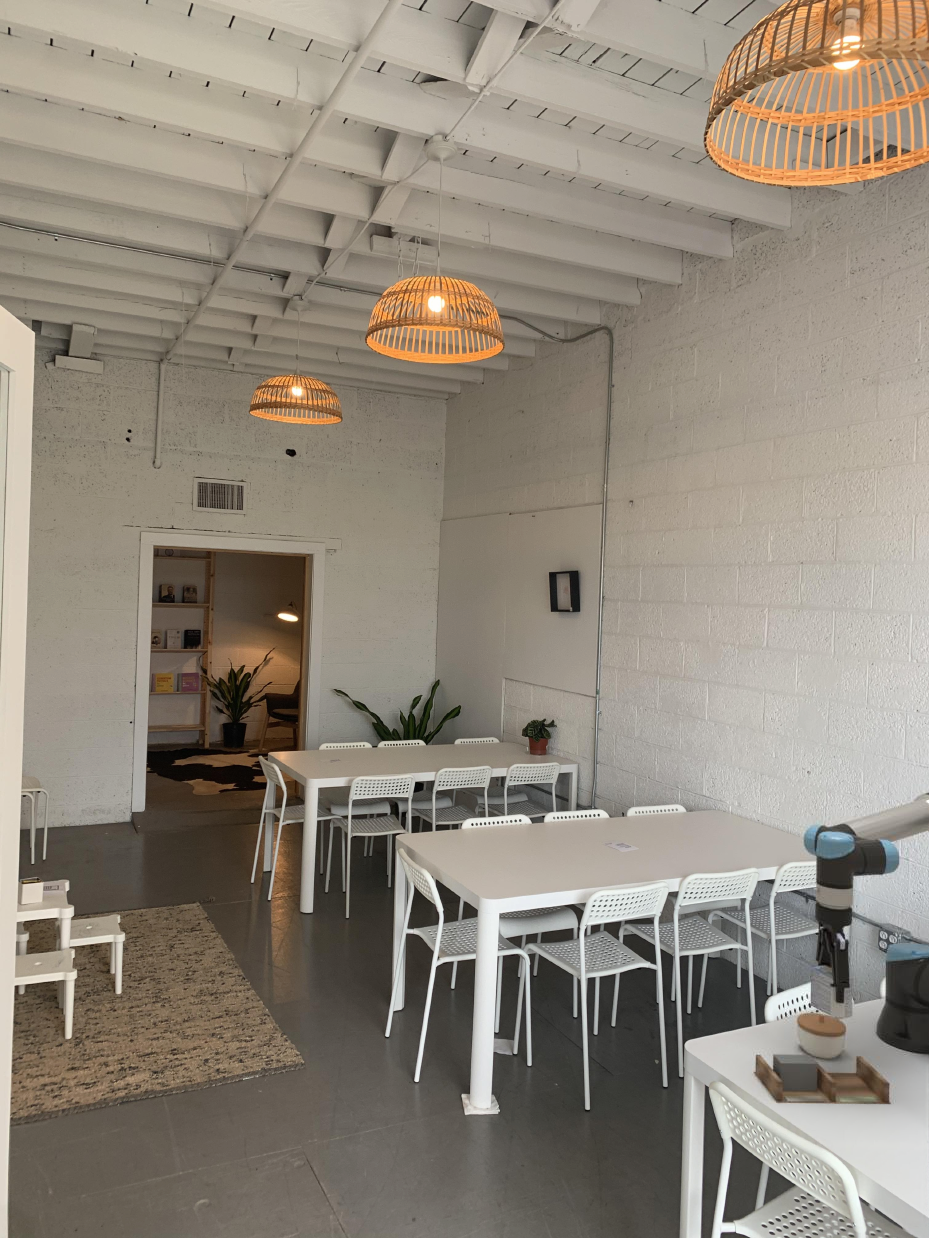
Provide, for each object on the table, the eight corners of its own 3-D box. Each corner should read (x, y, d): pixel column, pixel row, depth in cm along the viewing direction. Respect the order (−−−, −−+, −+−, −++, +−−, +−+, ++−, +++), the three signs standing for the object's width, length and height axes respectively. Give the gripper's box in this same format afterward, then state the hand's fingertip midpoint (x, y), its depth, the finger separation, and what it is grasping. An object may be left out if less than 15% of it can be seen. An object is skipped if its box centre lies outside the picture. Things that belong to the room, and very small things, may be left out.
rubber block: (808, 1082, 193) (809, 1054, 193) (816, 1091, 189) (817, 1063, 189) (772, 1081, 193) (773, 1054, 193) (779, 1091, 189) (780, 1063, 189)
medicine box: (852, 1017, 192) (853, 977, 192) (837, 1020, 190) (838, 979, 190) (824, 1003, 199) (825, 964, 199) (809, 1005, 197) (810, 966, 197)
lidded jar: (849, 1069, 202) (850, 1027, 202) (800, 1062, 204) (801, 1021, 204) (839, 1048, 213) (840, 1008, 213) (792, 1042, 215) (793, 1003, 215)
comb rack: (753, 1076, 197) (753, 1053, 197) (860, 1077, 198) (860, 1055, 198) (776, 1107, 184) (777, 1082, 184) (891, 1108, 185) (892, 1084, 185)
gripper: (803, 889, 206) (800, 986, 205) (830, 918, 184) (828, 1027, 184) (836, 891, 205) (834, 989, 205) (868, 920, 183) (865, 1030, 183)
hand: (831, 1007), depth 194 cm, fingers closed on medicine box, 9 cm apart
